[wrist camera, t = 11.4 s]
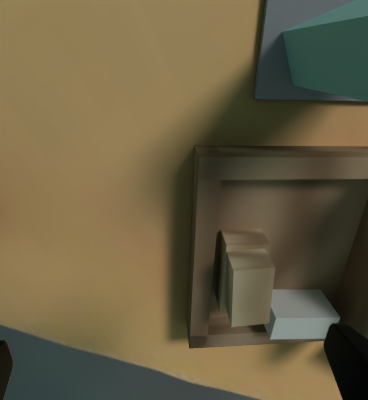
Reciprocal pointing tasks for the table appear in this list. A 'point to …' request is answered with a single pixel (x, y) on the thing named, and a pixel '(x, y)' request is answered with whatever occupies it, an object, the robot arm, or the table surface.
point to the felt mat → (276, 52)
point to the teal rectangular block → (331, 51)
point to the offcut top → (249, 287)
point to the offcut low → (235, 242)
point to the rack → (280, 230)
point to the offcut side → (300, 314)
